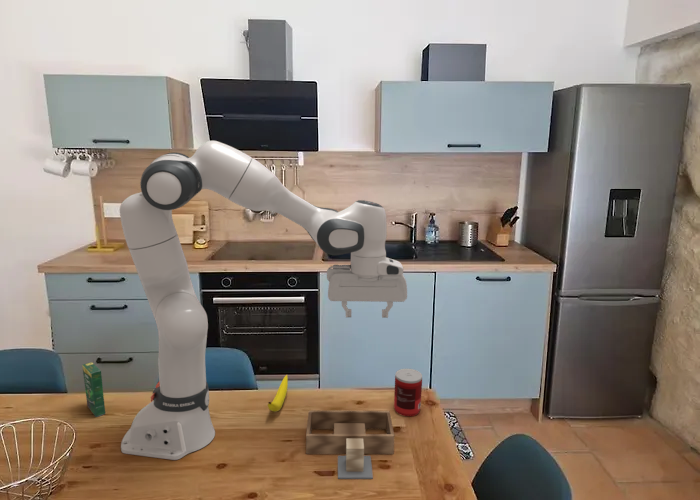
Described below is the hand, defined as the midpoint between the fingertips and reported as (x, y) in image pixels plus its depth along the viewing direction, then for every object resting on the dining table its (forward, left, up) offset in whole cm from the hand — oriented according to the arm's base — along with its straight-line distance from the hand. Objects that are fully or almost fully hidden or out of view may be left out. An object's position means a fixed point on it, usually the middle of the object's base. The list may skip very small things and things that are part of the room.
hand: (366, 316), depth 129 cm
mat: (-3, -18, -31) cm, 36 cm away
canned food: (+13, +8, -31) cm, 35 cm away
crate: (-4, -7, -31) cm, 32 cm away
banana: (-24, +10, -31) cm, 41 cm away
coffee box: (-75, +7, -31) cm, 82 cm away
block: (-3, -18, -31) cm, 36 cm away
